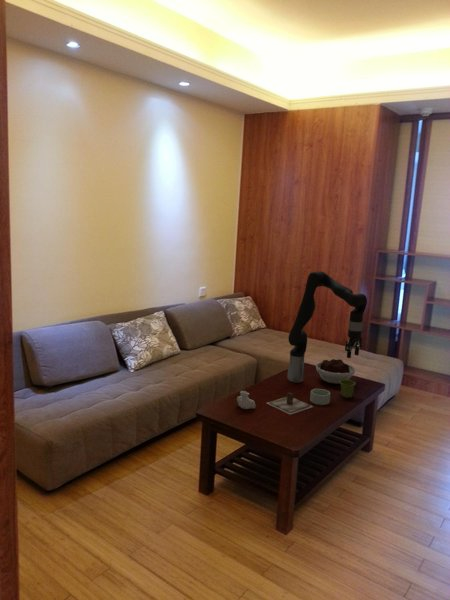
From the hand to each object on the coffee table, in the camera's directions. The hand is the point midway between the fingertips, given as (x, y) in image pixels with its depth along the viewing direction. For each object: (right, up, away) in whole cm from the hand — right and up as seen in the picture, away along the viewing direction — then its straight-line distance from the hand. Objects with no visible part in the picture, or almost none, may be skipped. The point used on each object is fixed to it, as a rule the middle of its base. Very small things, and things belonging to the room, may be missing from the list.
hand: (352, 356), depth 277 cm
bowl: (-18, -27, +5) cm, 33 cm away
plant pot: (0, -26, +16) cm, 30 cm away
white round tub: (-1, -21, +41) cm, 46 cm away
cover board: (-36, -27, -2) cm, 45 cm away
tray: (-36, -28, -2) cm, 46 cm away
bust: (-62, -28, -7) cm, 68 cm away
